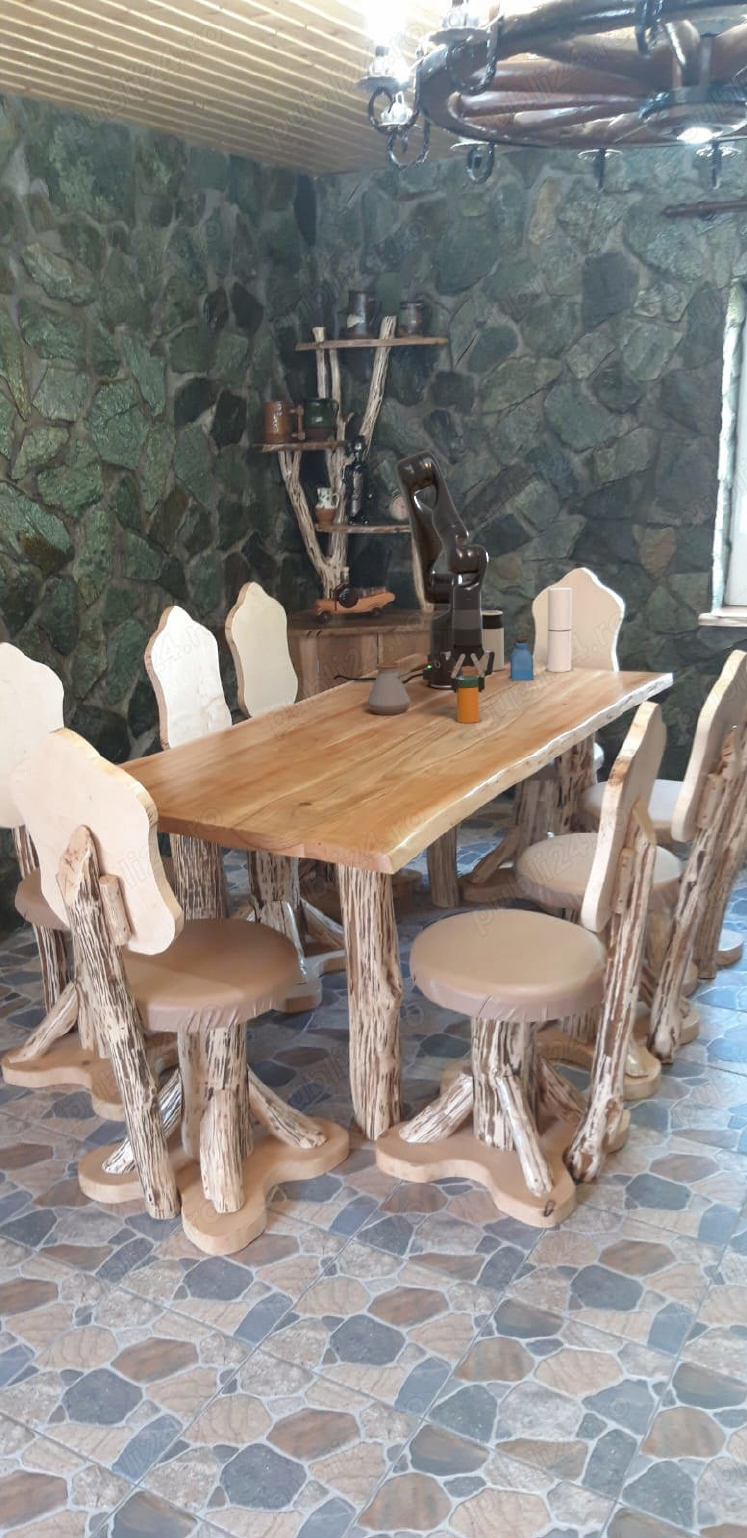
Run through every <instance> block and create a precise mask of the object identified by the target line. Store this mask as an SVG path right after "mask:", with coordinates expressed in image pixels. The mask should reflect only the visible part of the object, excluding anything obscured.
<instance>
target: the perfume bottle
mask: <svg viewBox="0 0 747 1538" xmlns="http://www.w3.org/2000/svg"><path fill="white" fill-rule="evenodd" d="M527 641H528V638H527V637H516V642H515V647H516V648H513V651H512V652H511V655H510V679H511V681H533V680H534V658H533V656H532V653H531V652H530V649H529V648H528V644H529V643H528V642H527Z"/></svg>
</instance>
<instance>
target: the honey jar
mask: <svg viewBox="0 0 747 1538" xmlns="http://www.w3.org/2000/svg"><path fill="white" fill-rule="evenodd" d="M456 721H457V722H458V723H463V724H472V723H473V724H474V723H478V722H480V692H479V686H475V687H459V686H457V693H456Z"/></svg>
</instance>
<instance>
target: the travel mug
mask: <svg viewBox="0 0 747 1538" xmlns="http://www.w3.org/2000/svg"><path fill="white" fill-rule="evenodd" d="M481 612H482V647H483V649H484V650H486V651H491V650H493V651H494V653H495V657H494V663H493V670H492V672H500V671H502V670H503V669H504V668H505V650H504V649H505V648H504V647H505V646H504V645H505V640H504V639H505V635H504V634H505V633H504V632H505V631H504V628H505V625H504V624H505V623H504V620H503V618H502V616H503V613H504V612H503V611H501V610H481ZM479 663H480V665H481V668H482V670H483V671H485V670H487V664H488V659H487V658H486V655H485V654H484V655H483V656H482V658H481V659H480V661H479Z"/></svg>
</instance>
